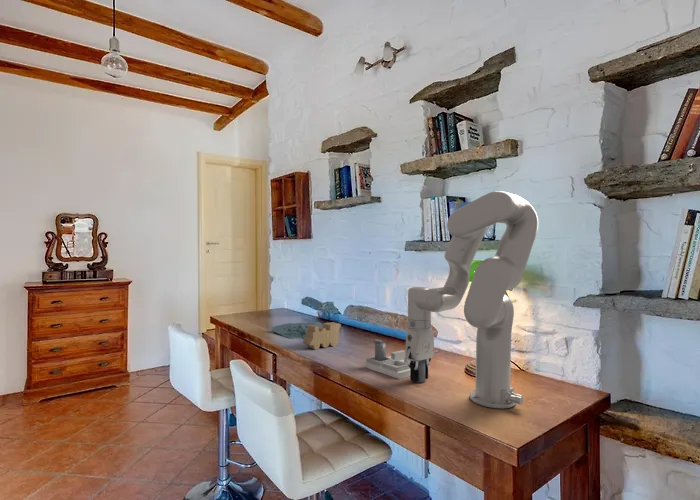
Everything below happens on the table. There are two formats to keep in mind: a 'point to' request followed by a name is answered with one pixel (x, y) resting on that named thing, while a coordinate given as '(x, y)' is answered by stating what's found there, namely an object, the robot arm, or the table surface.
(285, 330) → the terrain model
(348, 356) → the table surface
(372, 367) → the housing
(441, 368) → the table surface
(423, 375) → the peg
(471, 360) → the table surface
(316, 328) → the toy train
